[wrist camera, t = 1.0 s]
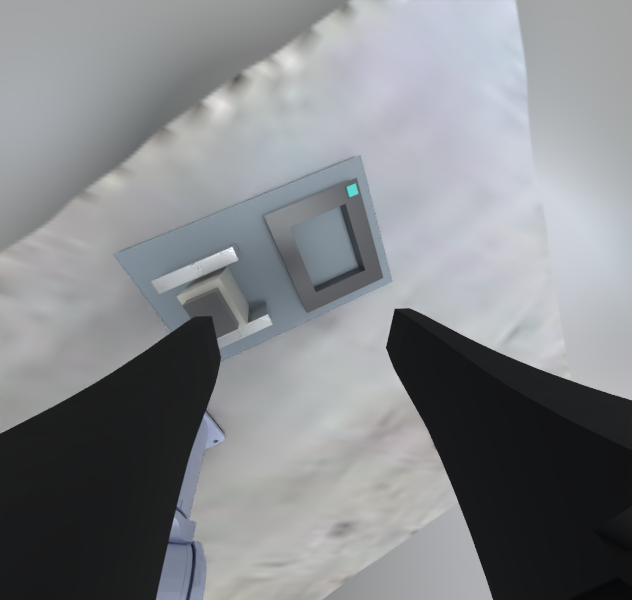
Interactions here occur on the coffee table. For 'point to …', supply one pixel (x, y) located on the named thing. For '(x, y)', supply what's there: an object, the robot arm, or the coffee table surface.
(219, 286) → the plug
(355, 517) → the coffee table surface
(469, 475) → the robot arm
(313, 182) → the panel board
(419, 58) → the coffee table surface
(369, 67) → the coffee table surface
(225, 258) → the plate with twin rails
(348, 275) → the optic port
